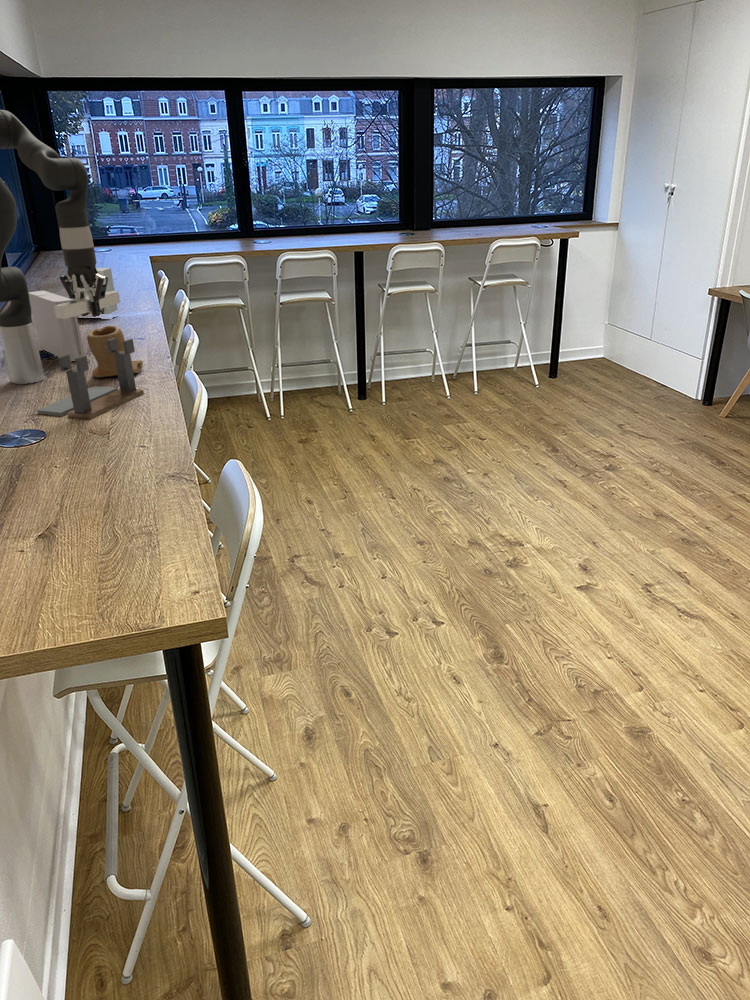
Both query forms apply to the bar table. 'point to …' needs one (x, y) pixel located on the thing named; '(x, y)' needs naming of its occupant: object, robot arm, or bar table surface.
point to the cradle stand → (105, 403)
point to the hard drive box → (110, 287)
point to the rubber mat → (67, 404)
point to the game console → (55, 326)
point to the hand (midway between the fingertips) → (90, 315)
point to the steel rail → (84, 305)
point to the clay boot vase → (101, 353)
